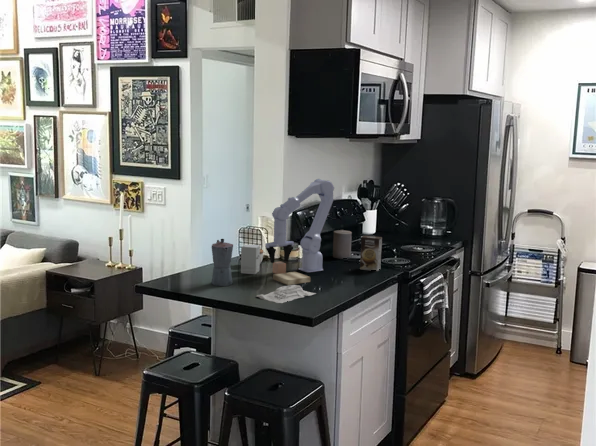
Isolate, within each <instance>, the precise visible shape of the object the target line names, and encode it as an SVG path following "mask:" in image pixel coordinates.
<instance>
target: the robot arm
mask: <svg viewBox="0 0 596 446" xmlns="http://www.w3.org/2000/svg"><path fill="white" fill-rule="evenodd" d="M334 191H335V186H334V184H333V182H332V181H330V180H327V179H326V180H325V179H320V178H317V179H315V180H314V181H312V182H310V184H309V185H308V186H307V187H306V188H304V190H303V191H301V192H299V194H298V195H297V196H296V197H295V196H291V197H290V196H289V197H288V198H287V200H286V201H285V202H284V203H281V204H280V206H277V207H275V208H274V209H273V210H272V211H273V212H272V213H271V216H272V217H273V220H274V221H273V241H271V242H266V243H265V249H266V251H267V254H268V257H269V260H270V263H272V264H273V263H274V262H275V261H276V260H275V259H276V257H275V256H276V251H277V249H276V248H277V247H278V248H279V247H283V262H288V261H289V258H290V255H291V253H292V251H293V250H294V244H295V242H294V241H293V240H287V220H288V219H289V217H290V215H291V214H292V213H293V212H295V211H296V210H297V209H299V208H300V206H301V203H302V202H304V201H305V200H307V199H308V198H309V197H311V196H312V195H314V194H315V195H316V194H317V195H318V197H319V198H320V203H319V205H318V208H317V210H316V213H315V216H314V218H313V221H312V223H311V225H310V228H309V230H308V231H307V232H306V233H305V234H304V236H303V237H302V238H301V240H300V243H299V244H300V245H299V246H300V247H301V249H302V256H301V257H302V258H301V260H302V262H301V267H299V268H298V270H300V271H302V272H305V273H315V272H321V271H324V268H323V261H324V260H323V254H322V253H321V251H320V249H321V242H322V238H321V233H322V231H323V229H324V228H323V227H324V225H325V223H326V220H327V219H328V218H327V217H328V216H329V213H330V210H331V208H332V205H333V202H334Z"/></svg>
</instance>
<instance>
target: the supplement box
mask: <svg viewBox="0 0 596 446" xmlns="http://www.w3.org/2000/svg"><path fill="white" fill-rule="evenodd" d="M240 249H241V252H240V258H241V259H240V273H241V274H247V275H256V274H257V273H258V272H260V264H261V263H260V249H261V245H259V244H244V245H243V246H241V248H240Z"/></svg>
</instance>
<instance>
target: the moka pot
mask: <svg viewBox="0 0 596 446" xmlns="http://www.w3.org/2000/svg"><path fill="white" fill-rule="evenodd" d="M233 248H234V244H233V243H230V242H225V238H221V239H220V240H219V239H217V240H216V243H212V244H211V254H212V263H213V269H212V275H211V282H210V283H211V284H212V286H216V287H228V286H231V285H232V284H233V278H232V269H231V263H232V256H233Z"/></svg>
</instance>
